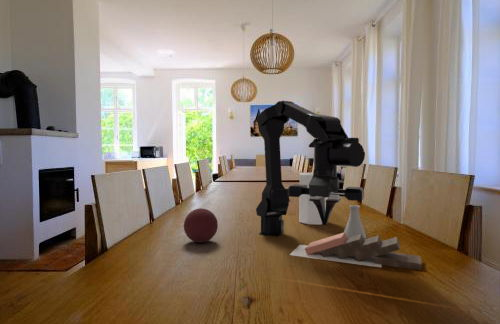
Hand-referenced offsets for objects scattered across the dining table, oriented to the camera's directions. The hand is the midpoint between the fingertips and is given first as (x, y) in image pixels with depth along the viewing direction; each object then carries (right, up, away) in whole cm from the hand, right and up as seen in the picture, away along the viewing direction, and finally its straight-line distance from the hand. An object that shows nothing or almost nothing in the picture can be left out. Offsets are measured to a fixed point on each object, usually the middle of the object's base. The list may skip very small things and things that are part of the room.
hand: (324, 225), depth 86 cm
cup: (+5, -7, +40) cm, 41 cm away
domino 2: (0, -7, 0) cm, 7 cm away
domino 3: (+4, -7, -1) cm, 8 cm away
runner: (+3, -8, -1) cm, 8 cm away
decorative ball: (-34, -8, +12) cm, 37 cm away
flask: (+13, -8, +17) cm, 23 cm away
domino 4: (+8, -7, -3) cm, 11 cm away
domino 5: (+11, -7, -5) cm, 14 cm away
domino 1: (-4, -7, +2) cm, 8 cm away
